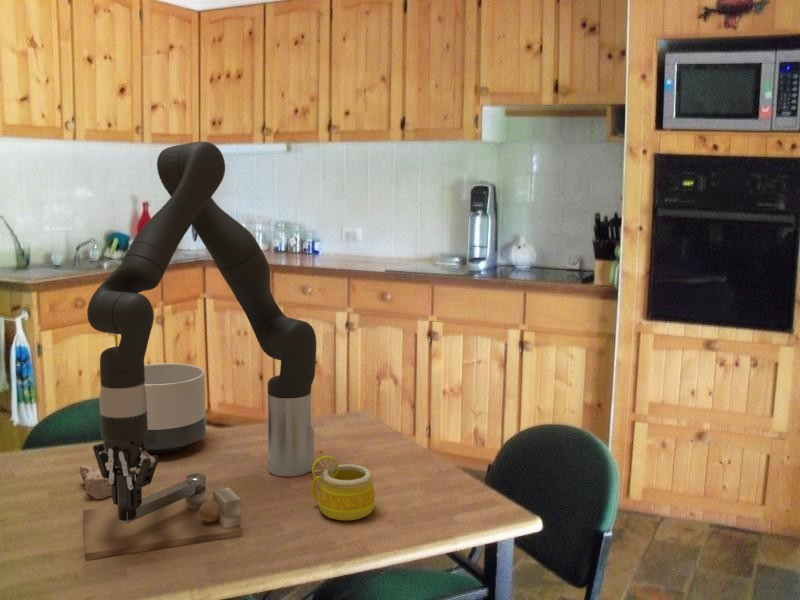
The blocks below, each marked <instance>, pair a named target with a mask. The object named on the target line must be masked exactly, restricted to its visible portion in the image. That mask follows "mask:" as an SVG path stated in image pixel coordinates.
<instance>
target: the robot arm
mask: <svg viewBox="0 0 800 600" xmlns="http://www.w3.org/2000/svg"><path fill="white" fill-rule="evenodd" d="M156 167H157V169H156V170H157V174H158V177H159V179H160V182H161V184H162V185H163V187H164V188H165V191H166V192H167V193H168V195H169V196H170V198H169V199H168V200H167V202H165V203H164V205H163V206H161V208H160V209H159V210H158V211H157V212H156V213H155V214H154V215H153V216H152V217H151V218H149V220H147V222H146V223H145V224H144V225H143V226H142V228H140V229H139V231H138V233H137V234H136V235H135V237H134V238H133V239H132V242H131V244H130V246H129V248H128V250H127V251H126V253H125V255H124V258H123V259H122V262H121V263H120V265H119V266H118V267H117V268H116V269H115V270H114V271H113V272H111V273H110V275H109V276H108V277H107V278H106V279H105V280H104V281H103V282H102V284H100V285H99V286H98V288H97V289H96V290H95V291H94V293H93V294H92V296H91V298H90V300H89V302H88V307H87V309H86V310H87V313H86V314H87V320H88V323H89V325H90V327H91V328H93V329H94V330H96V331H97V332H101V333H104V334H105V333H106V334H115V335H120V339H119V344H118V345H117V346H112V347H108V348H106V349H104V350H103V351H102V352H101V354H100V356H99V373H100V377H99V378H100V380H99V381H100V390H99V391H100V392H99V417H100V419H99V420H100V423H99V424H100V436H101V438H102V439H103V440H104V441H103V442H99V443H97V444H95V445H93V446H92V450H93V453H94V455H95V459H96V461H97V464H98V468H99V469H100V472H101V475H102V477H103V478H104V479H105V478H108V479H109V482H110V484H112V496H111V499H112V503H113V505H114V506H118V501H117V478H116V473H117V472H118V471H121V470H123V475H124V476H125V477H126V479H127V485H128V488H129V489H128V508H129V509H131V510H134V509H136V508H138V507H140V506H141V504H142V499H143V496H142V495H143V492H142V488H143V487H147V486H149V485H151V483H152V480H153V478H154V475H155V471H156V469H157V465H158V463H159V460H160V459H159V456H158V455H157V454H154V455H151V453H149V452H146V446H145V444H144V438H145V436H146V434H147V432H148V422H147V393H146V388H145V370H144V365H145V357H146V352H147V348H148V346H149V345H148V344H149V340H150V336H151V332H152V328H153V326H154V325H153V324H154V318H155V317H154V316H155V315H154V309H153V306H152V303H151V301H150V300H149V299H148V298H147V296H146V295H144V294H141V293H143V292H147V291H151V290H154V289H155V288H156V287H158V286H159V284H160V282H161V281H162V279H163V278H164V277H163V276H164V275H165V273H166V271H167V269H168V267H169V265H170V262H171V260H172V258H173V257H174V254H175V252H176V251H177V248H178V247H179V245H180V243H181V241H182V240H183V238H184V236H185V234H186V233H187V232H188V230H189V229H190V227H191V226H192V227H193V230H194V231H195V232H196V234H197V235H198V237H199V239H200V240H201V242H202V243H203V245H204V247H205V249H206V250H207V251H208V253H209V254H210V256H211V258H212V260H213V262H214V264H215V266H216V267H217V269H218V271H219V272H220V274H221V276H222V277H223V279H224V281H225V283H226V284H227V285H228V287H229V288H230V291H231V292H232V293H233V296H234V297H235V299H236V300H237V303H238V304H239V305H240V306H241V307H240V308H241V309H242V310H243V311H244V314H245V316H246V317H247V319H248V322H249V323H250V327H251V329H252V331H253V333H254V335H255V338H256V340H257V342H258V345H259V347H260V348H261V350H262V351H263V353H264V354H265V355H267V356H268V357H270V358H272V359H274V360H278V361H280V367H279V368H280V370H279V371H280V372H279V375H276V376H273V377H270V378H269V380H268V381H267V450H268V451H267V455H268V456H267V457H268V459H267V464H268V465H267V466H268V467H267V468H268V472H269V473H270V474H272V475H274V476H279V477H289V478H290V477H298V476H302V475H305V474H307V473H309V472H312V466H313V464H314V462H315V429H314V427H313V426H312V385H313V382H314V380H315V377H316V376H315V375H316V360H317V337H316V332H315V330H314V328H313V326H312V325H311V324H310V323H309V322H308V321H306V320H305V321H304V320H301V319H297V318H292V317H287V315H285V314H284V312H283V311H282V310H281V308H280V306H279V305H278V304H277V302H276V300H275V299H274V296H273V294H272V291H271V270H270V265H269V262H268V259H267V258H266V255H265V254H264V252H263V250H262V248H261V246H260V244H259V243H258V241H257V240H256V237H255V236H254V235H253V234H252V233H251V232H250V231H249V230H248V229H247V228H246V227H245V226H243V225H242V224H241V223H240V222H239V221H237V220H236V219H235V218H233V217H232V216H231V215H229V213H228V212H226V211H224V210H223V209H222V208H221V207H220V206H219V205H218V204H217V202H215V200H214V199H213V198H212V197H213V195H214V194H215V193H216V191H217V190H218V188H219V187H220V185H221V184H222V181H223V179H224V177H225V173H226V163H225V159H224V156H223V153H222V151H221V150H220V149H219V148H218V146H217V145H215V144H214V143H212V142H209V141H195V142H189V143H188V142H187V143H182V144H176V145H172V146H169V147H166V148H164V149H163V150H161V152H160V153H159V154H158V157H157V160H156ZM106 464H107V466H106ZM107 469H108V470H107ZM134 475H135V481H134V478H133V476H134Z"/></svg>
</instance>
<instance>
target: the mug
mask: <svg viewBox="0 0 800 600" xmlns="http://www.w3.org/2000/svg"><path fill="white" fill-rule="evenodd" d="M323 452H324V451H323V448H318V453H319V454H321V456H320V457H318V458H316V459H315V460H314V464H313V466H312V471H311V473H312V477H314V478H313V480H312V484H311V487H310V489H311V496H312V498H313V500H315V502H318V507H319V509H320V512H321V513H322V514H323V515H324V516H326V517H328V518H329V519H332V520H339V521H348V522H349V521H355V520H361V519H362V518H365V517H367V516H369V515H370V514H371V513H372V512H373V510H374V508H375V503H376V496H375V487H374V483H373V473H372V471H370V469H369V468H366V467H365V466H361V465H357V464H352V463H351V464H350V463H349V464H346V463H345V464H339V463H338V462H337V460H336V459H335V458H334V457H333V456H330V455H324V453H323ZM322 459H323V460H324V463H325V466H324V464H323V463H322V461H321V460H322ZM327 459H328V460H327ZM331 461H334V462H335V465H333V466H329V465H330V463H331ZM317 463H319V464H320V465H321V466H322V468H315V467H316V464H317ZM321 471H322V472H321ZM317 472H321V475H317V476H316V475H315V473H317ZM318 482H320V484H319V485H320V487H319V492H318V496H317V493H316V485H317V483H318Z"/></svg>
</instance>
